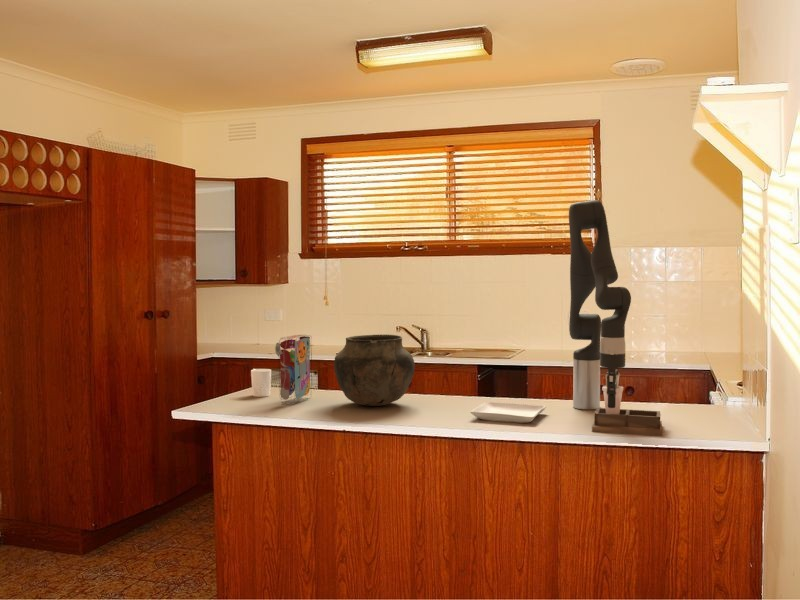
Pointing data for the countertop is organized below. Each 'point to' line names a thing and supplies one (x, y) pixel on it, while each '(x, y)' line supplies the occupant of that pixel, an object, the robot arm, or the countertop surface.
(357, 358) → the pot
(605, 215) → the robot arm
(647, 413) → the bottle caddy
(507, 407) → the salad plate
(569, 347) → the countertop surface
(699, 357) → the countertop surface
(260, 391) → the white cup
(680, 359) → the countertop surface
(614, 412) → the smoothie
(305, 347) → the box
